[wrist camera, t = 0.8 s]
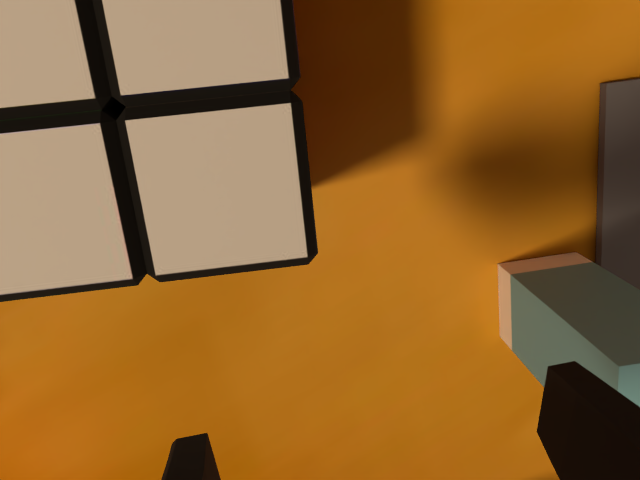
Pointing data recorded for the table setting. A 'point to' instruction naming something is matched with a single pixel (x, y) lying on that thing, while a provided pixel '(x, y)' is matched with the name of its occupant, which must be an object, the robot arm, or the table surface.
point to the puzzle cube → (149, 143)
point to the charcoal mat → (619, 180)
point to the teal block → (571, 318)
